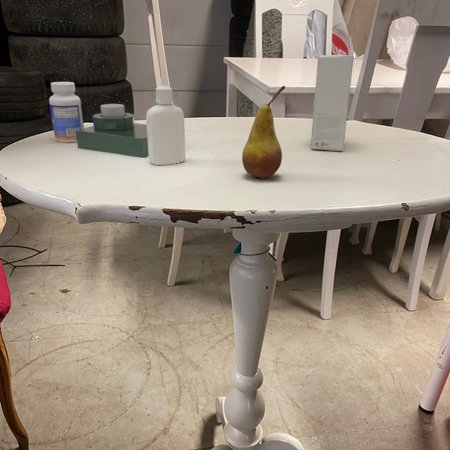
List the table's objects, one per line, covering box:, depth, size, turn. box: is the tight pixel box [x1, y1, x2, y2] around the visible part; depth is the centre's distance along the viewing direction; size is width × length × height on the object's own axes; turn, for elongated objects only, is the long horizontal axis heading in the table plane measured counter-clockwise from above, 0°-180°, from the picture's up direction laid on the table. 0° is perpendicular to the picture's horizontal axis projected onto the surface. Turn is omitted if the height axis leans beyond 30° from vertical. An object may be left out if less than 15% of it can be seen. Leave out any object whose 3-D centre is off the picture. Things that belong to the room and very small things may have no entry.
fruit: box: [241, 85, 286, 179], centre depth 64 cm, size 6×6×12 cm
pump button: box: [100, 103, 126, 118], centre depth 81 cm, size 4×4×2 cm
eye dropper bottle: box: [145, 77, 186, 166], centre depth 70 cm, size 4×6×12 cm
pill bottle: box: [48, 81, 85, 144], centre depth 85 cm, size 5×5×10 cm
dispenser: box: [76, 112, 149, 158], centre depth 81 cm, size 14×11×5 cm
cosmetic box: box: [310, 54, 355, 152], centre depth 82 cm, size 8×6×15 cm
